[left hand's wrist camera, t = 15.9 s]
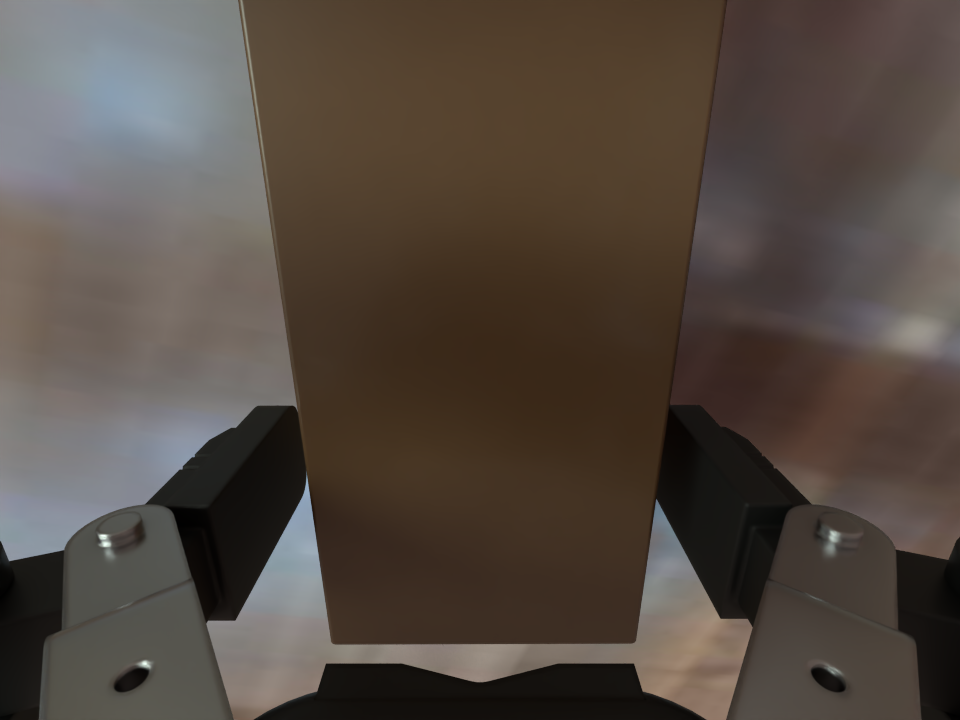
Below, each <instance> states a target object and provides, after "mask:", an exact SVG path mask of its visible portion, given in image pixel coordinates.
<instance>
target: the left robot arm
mask: <svg viewBox="0 0 960 720" xmlns="http://www.w3.org/2000/svg"><path fill="white" fill-rule="evenodd" d="M761 454H762V453H761V452H760V451H759V450H758V449H757V448H756V447H755V446H754V445H753V444H752V443H751V442H750V441H749V440H748V439H746V438H744V437H743V436H741V435H739V434H737V433H735V432H734V431H732V430H730V429H728V428H726V427H720V426H719V425H718V424H717V423H716V421H715V420H714V419H713V418H712V417H711V416H710V415H709V414H708V413H707V412H706V411H705V410H704V409H703V408H702V407H701V406H700V405H669V412H668V419H667V426H666V433H665V440H664V447H663V454H662V461H661V468H660V475H659V482H658V489H657V496H656V499H657V501H658V503H659V504H660V506H661V508H662V510H663V512H664V514H665V516H666V517H667V519H668V521H669V523H670V525H671V527H672V529H673V531H674V532H675V534H676V536H677V538H678V540H679V542H680V544H681V546H682V547H683V549H684V551H685V553H686V555H687V557H688V559H689V560H690V562H691V564H692V566H693V568H694V570H695V572H696V574H697V575H698V577H699V579H700V581H701V583H702V585H703V587H704V588H705V590H706V592H707V594H708V596H709V598H710V600H711V602H712V603H713V605H714V607H715V609H716V611H717V613H718V615H719V617H720V618H721V619H748V620H749V622H750V623H751V625H752V627H753V629H752V632H751V636H750V639H749V642H748V646H747V649H746V653H745V656H744V660H743V663H742V667H741V670H740V674H739V677H738V681H737V684H736V688H735V691H734V694H733V698H732V701H731V705H730V708H729V712H728V715H727V719H726V720H960V538H958V539H957V541H956V543H955V546H954V548H953V551H952V553H951V555H950V558H949V560H945V559H940V558H935V557H930V556H925V555H920V554H915V553H910V552H905V551H900V550H895V546H894V544H893V542H892V541H891V540H890V539H889V537H888V536H887V535H886V534H885V533H884V532H883V531H881V530H880V529H879V528H877V527H876V526H875V525H873V524H871V523H870V522H868V521H866V520H864V519H863V518H861V517H859V516H856V515H854V514H852V513H849V512H846V511H843V510H840V509H837V508H833V507H829V506H823V505H812V504H811V503H810V502H809V501H808V500H807V499H806V498H805V497H804V496H803V495H802V494H801V493H800V492H799V491H798V490H797V489H796V488H795V487H794V486H793V485H792V484H791V483H790V482H789V481H788V480H787V479H786V478H785V477H784V476H783V475H782V474H781V473H780V472H779V471H778V470H777V469H774V468H773V465H772V464H771V463H770V462H769V461H768V460H767V459H766V457H765V456H762V455H761ZM305 485H306V464H305V457H304V450H303V443H302V436H301V429H300V422H299V416H298V412H297V409H296V408H295V407H294V406H257V407H255V408H254V409H253V410H252V411H251V412H250V414H249V415H248V416H247V417H246V418H245V419H244V420H243V421H242V422H241V423H240V424H239V425H238V426H237V427H236V428H230V429H228V430H227V431H225V432H223V433H221V434H219V435H218V436H216V437H214V438H212V439H210V440H209V441H208V442H207V443H206V444H205V445H204V446H203V447H202V448H201V449H200V450H199V451H198V452H197V453H196V454H195V457H192V458H191V459H190V460H189V461H188V462H187V463H186V464H185V465H184V466H183V470H179V471H178V472H177V473H176V474H175V475H174V476H173V477H172V478H171V479H170V480H169V481H168V482H167V483H166V484H165V485H164V486H163V487H162V488H161V489H160V490H159V491H158V492H157V493H156V494H155V495H154V496H153V497H152V498H151V499H150V500H149V501H148V502H147V503H146V504H145V505H137V506H131V507H127V508H123V509H120V510H117V511H114V512H111V513H108V514H106V515H104V516H101V517H99V518H97V519H96V520H94V521H92V522H90V523H89V524H87V525H85V526H84V527H83V528H81V529H80V530H79V531H77V532H76V533H75V534H74V535H73V536H72V537H71V539H70V540H69V541H68V542H67V544H66V546H65V550H63V551H58V552H53V553H48V554H43V555H38V556H33V557H28V558H23V559H19V560H14V561H9V560H8V558H7V555H6V553H5V550H4V548H3V545H2V543H1V541H0V720H234V719H233V715H232V712H231V708H230V705H229V701H228V698H227V695H226V691H225V688H224V684H223V681H222V677H221V674H220V670H219V667H218V663H217V660H216V656H215V653H214V649H213V646H212V642H211V639H210V636H209V632H208V629H207V625H206V623H207V621H235V620H236V618H237V617H238V615H239V613H240V611H241V609H242V607H243V605H244V604H245V602H246V600H247V598H248V596H249V594H250V593H251V591H252V589H253V587H254V585H255V583H256V581H257V580H258V578H259V576H260V574H261V572H262V570H263V569H264V567H265V565H266V563H267V561H268V559H269V557H270V556H271V554H272V552H273V550H274V548H275V546H276V545H277V543H278V541H279V539H280V537H281V535H282V534H283V532H284V530H285V528H286V526H287V524H288V522H289V521H290V519H291V517H292V515H293V513H294V511H295V510H296V508H297V506H298V504H299V502H300V500H301V498H302V496H303V494H304V490H305ZM254 720H706V719H704V718H703V717H701V716H699V715H698V714H696V713H694V712H693V711H691V710H689V709H687V708H685V707H683V706H681V705H678V704H676V703H674V702H672V701H670V700H667V699H664V698H661V697H659V696H656V695H653V694H650V693H646V692H643V691H642V688H641V685H640V682H639V678H638V675H637V672H636V669H635V666H634V664H555V665H551V666H547V667H543V668H539V669H535V670H531V671H527V672H524V673H520V674H516V675H512V676H508V677H504V678H500V679H496V680H492V681H488V682H472V681H468V680H464V679H460V678H456V677H452V676H448V675H444V674H440V673H436V672H433V671H429V670H425V669H421V668H417V667H413V666H409V665H405V664H326V666H325V669H324V672H323V675H322V678H321V682H320V685H319V688H318V691H317V692H314V693H310V694H307V695H304V696H301V697H299V698H296V699H293V700H290V701H288V702H286V703H284V704H282V705H279V706H277V707H275V708H273V709H271V710H269V711H267V712H266V713H264V714H262V715H261V716H259V717H257V718H256V719H254Z"/></svg>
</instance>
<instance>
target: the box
mask: <svg viewBox="0 0 960 720" xmlns="http://www.w3.org/2000/svg"><path fill="white" fill-rule="evenodd" d="M238 2H239V9H240V16H241V23H242V30H243V37H244V44H245V50H246V57H247V64H248V71H249V78H250V85H251V92H252V99H253V106H254V112H255V119H256V126H257V133H258V140H259V147H260V154H261V161H262V168H263V174H264V181H265V188H266V195H267V202H268V209H269V216H270V223H271V230H272V236H273V243H274V250H275V257H276V264H277V271H278V278H279V285H280V292H281V298H282V305H283V312H284V319H285V326H286V333H287V340H288V347H289V354H290V360H291V367H292V374H293V381H294V388H295V395H296V402H297V409H298V416H299V422H300V429H301V436H302V443H303V450H304V457H305V464H306V471H307V478H308V484H309V491H310V498H311V505H312V512H313V519H314V526H315V533H316V540H317V546H318V553H319V560H320V567H321V574H322V581H323V588H324V595H325V602H326V609H327V615H328V622H329V629H330V636H331V642H332V643H333V644H628V643H634V642H635V641H636V636H637V629H638V622H639V615H640V608H641V601H642V594H643V587H644V580H645V573H646V566H647V559H648V552H649V545H650V538H651V531H652V524H653V517H654V510H655V503H656V496H657V489H658V482H659V475H660V468H661V461H662V454H663V447H664V440H665V433H666V426H667V419H668V412H669V405H670V398H671V391H672V384H673V377H674V370H675V363H676V356H677V349H678V342H679V335H680V328H681V321H682V313H683V306H684V299H685V292H686V285H687V278H688V271H689V264H690V257H691V250H692V243H693V236H694V229H695V222H696V215H697V208H698V201H699V194H700V187H701V180H702V173H703V166H704V159H705V152H706V145H707V138H708V131H709V124H710V117H711V110H712V103H713V96H714V89H715V82H716V75H717V68H718V61H719V54H720V47H721V40H722V33H723V26H724V19H725V12H726V5H727V0H238Z"/></svg>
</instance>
